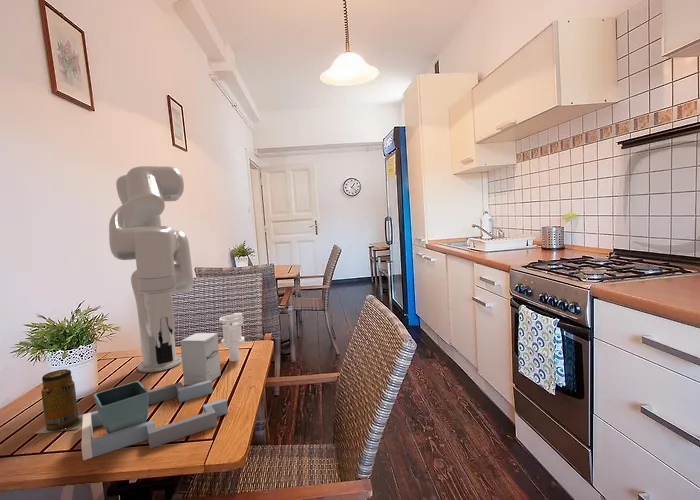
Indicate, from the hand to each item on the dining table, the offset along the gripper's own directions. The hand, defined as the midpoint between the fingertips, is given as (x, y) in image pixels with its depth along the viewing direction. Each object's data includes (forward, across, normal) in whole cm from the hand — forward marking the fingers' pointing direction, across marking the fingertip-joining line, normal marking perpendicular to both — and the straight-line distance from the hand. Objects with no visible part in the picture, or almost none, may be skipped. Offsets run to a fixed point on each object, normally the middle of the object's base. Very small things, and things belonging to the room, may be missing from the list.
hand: (164, 361), depth 88 cm
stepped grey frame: (+12, +2, -3) cm, 13 cm away
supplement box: (+14, -15, +11) cm, 23 cm away
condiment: (+13, -11, -20) cm, 26 cm away
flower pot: (+13, +3, -9) cm, 16 cm away
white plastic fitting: (+14, -25, +23) cm, 37 cm away
